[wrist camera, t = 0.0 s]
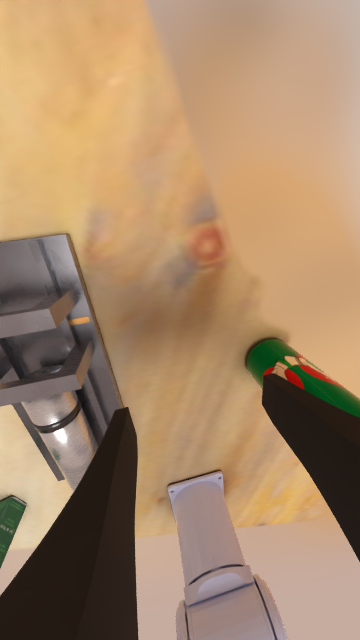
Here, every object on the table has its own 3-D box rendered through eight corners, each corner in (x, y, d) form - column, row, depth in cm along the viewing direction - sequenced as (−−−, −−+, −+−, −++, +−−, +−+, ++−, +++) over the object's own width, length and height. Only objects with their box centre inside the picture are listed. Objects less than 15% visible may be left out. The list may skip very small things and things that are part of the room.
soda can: (249, 381, 25) (337, 498, 14) (239, 347, 23) (335, 455, 12) (288, 364, 25) (405, 467, 14) (282, 329, 23) (415, 419, 12)
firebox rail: (137, 451, 26) (137, 512, 20) (61, 471, 25) (39, 541, 19) (69, 234, 16) (31, 234, 10) (-66, 251, 14) (-192, 263, 9)
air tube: (110, 456, 24) (105, 492, 20) (76, 464, 23) (66, 503, 20) (71, 361, 18) (57, 389, 15) (27, 369, 18) (3, 400, 15)
